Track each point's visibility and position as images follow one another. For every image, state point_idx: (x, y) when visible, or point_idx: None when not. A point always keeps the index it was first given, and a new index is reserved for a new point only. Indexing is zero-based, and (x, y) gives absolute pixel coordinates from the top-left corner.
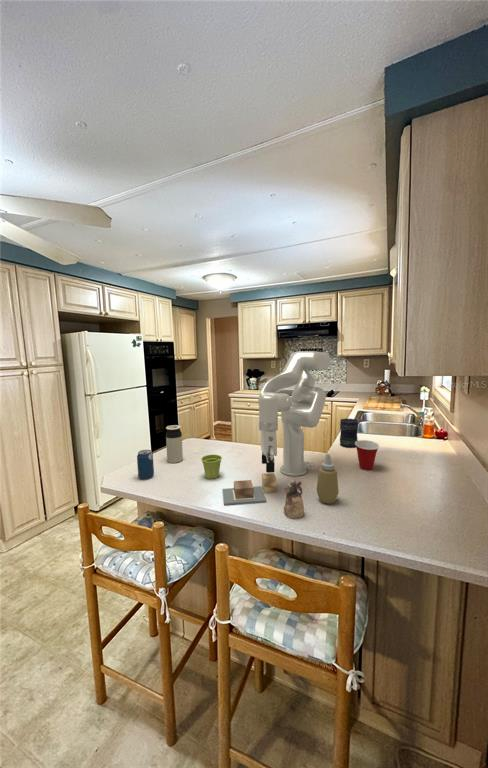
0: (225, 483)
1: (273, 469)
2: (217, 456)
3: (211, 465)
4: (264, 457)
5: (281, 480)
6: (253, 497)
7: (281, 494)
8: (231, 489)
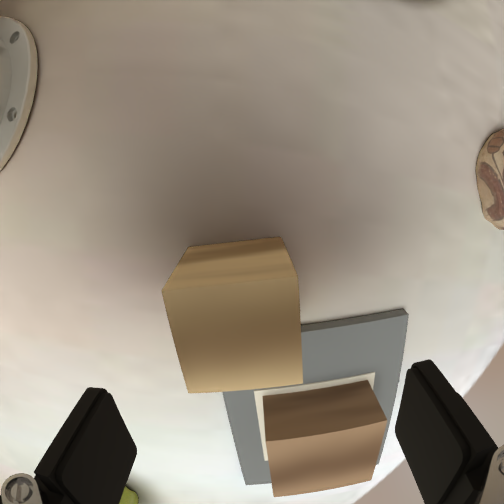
0: (169, 469)
1: (442, 386)
2: None
3: None
4: (105, 491)
5: (87, 180)
6: (368, 381)
7: (319, 204)
8: (254, 463)
